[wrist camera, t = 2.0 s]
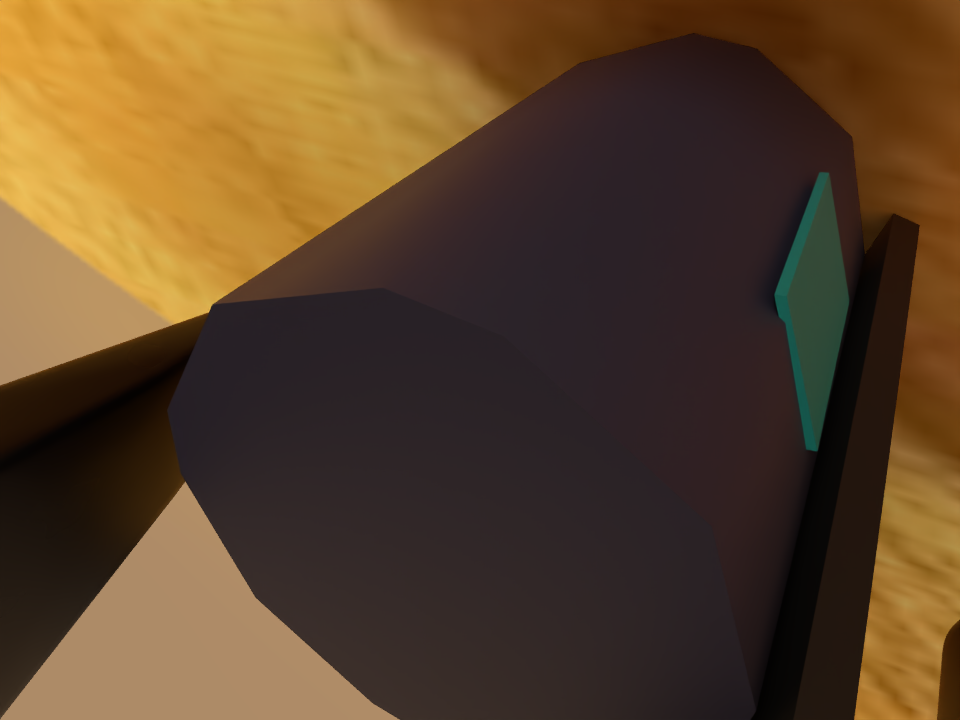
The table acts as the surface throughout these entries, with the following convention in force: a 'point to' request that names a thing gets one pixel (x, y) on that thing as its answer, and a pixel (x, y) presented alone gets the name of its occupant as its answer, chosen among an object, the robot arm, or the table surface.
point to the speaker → (575, 409)
